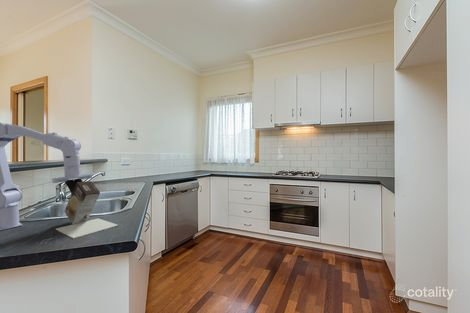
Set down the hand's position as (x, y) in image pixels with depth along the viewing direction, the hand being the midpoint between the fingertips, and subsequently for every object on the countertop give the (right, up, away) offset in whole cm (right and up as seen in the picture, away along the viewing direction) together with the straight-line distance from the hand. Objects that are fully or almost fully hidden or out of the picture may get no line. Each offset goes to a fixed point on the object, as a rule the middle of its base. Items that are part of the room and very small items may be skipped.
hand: (74, 196), depth 98 cm
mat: (+11, -11, -8) cm, 18 cm away
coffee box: (0, -9, 0) cm, 9 cm away
